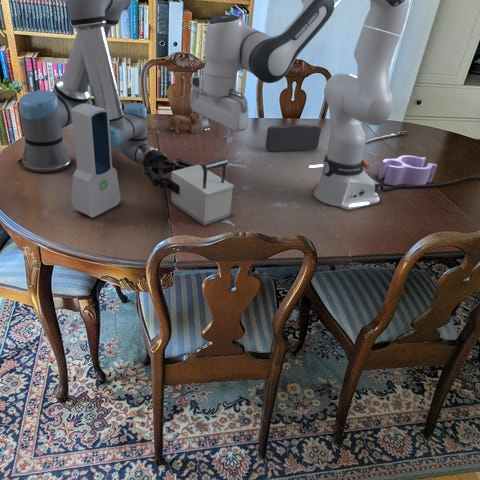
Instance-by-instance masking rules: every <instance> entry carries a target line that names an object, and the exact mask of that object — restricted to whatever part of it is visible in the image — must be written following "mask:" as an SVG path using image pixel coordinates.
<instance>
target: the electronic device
mask: <svg viewBox="0 0 480 480" xmlns="http://www.w3.org/2000/svg"><path fill="white" fill-rule="evenodd" d="M71 115H72V124H71V125H72V132H73V143H74V151H75V160H76V169H75V171H74V173H73V174H72V185H71V188H72V189H71V201H70V202H71V204H72V207H73V209H74V210H75V211H77V212H79V213H81V214H84V215H86V216H88V217H90V218H95V217H97V216H99V215H101V214H103V213H105V212H107V211H109V210H112V208H115V207H117V206H118V205H119V204H120V202H121V201H122V200H121V192H120V186H119V179H118V178H119V177H118V170H117V169H116V168H114V166H113V160H112V158H113V157H112V149H111V142H110V125H109V111H108V110H105V109H102V108H99V107H96V105H93V104H92V105H90V104H80V105H77V106H75V107H74V108H73V109H72V110H71Z"/></svg>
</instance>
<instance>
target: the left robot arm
mask: <svg viewBox="0 0 480 480" xmlns="http://www.w3.org/2000/svg"><path fill="white" fill-rule="evenodd" d="M133 3H134V0H66V6H67V13H68V17H69V21H70V25H71V28H73V29H74V30H76V35H75V38H74V41H73V43H72V47H71V50H70V53H69V57H68V59H67V62H66V65H65V69H64V71H63V74H62V76H60V77H58V78H56V80H55V82H54V86H53V88H52V91H51V90H48V89H47V90H46V89H39V90H35V91H34V90H33V91H29V92H27V93H25V94H23V95H22V96H21V97H20V99H19V102H18V105H19V110H18V111H19V115H20V120H21V126H22V132H23V137H24V148H23V153H22V157H20V159H18V161H17V163H18V164H20V163H22V166H23V168H24V169H25V170H27V171H29V172H33V173H39V174H46V173H56V172H61V171H63V170H66V169H67V168H69V167H70V166H71V163H72V159H71V155H70V153H69V151H68V150H67V149H68V148H67V147H66V144H65V143H64V140H63V132H62V129H63V128H66V127H67V126H70V125H73V124H72V115H71V110H72V109H73V108H74V107H75V106H77V105H80V104H90V105H93V102H92V100H91V98H92V97H91V93H92V96H93V99H94V100H93V101H94V104H95V106H96V107H99V108H102V109H105V110H108V111H109V125H110V142H111V150H113V149H115V148H118V147H119V149H120V151H121V153H122V154H123V155H124V156H125V157H126V158H127V159H129V160H131V161H133V162H135V163H136V164H138V165H139V166H140V167H142V168H143V174H144V175H145V176H146V177H147V178H148V179H149V180H150V182H151V184H152V185H153V186H154V187H159V188H160V189H164V188H166V189H168V190H170V191H171V190H172V191H173V192H175V193H176V194H179V185H178V184H176V183H175V182H173V181H172V179H170V178H169V177H166V176H164V175H166V174H168V173H170V174H172V171H176V170H179V169H183V168H187V167H191V166H194V165H195V164H194V163H190V162H187V161H185V160H183V159H180V158H176V159H175V161H173V160H171V159H169V158H168V157H167V155H166V154H165V153H163V152H162V151H160V150H158V149H157V148H155V147H154V146H152V145H150V144H148V118H149V117H148V109H147V107H146V105H144V104H142V103H139V102H130V103H126V104H125V105H124V106H122V101H121V97H120V93H119V89H118V83H117V80H116V75H115V71H114V66H113V65H114V64H112V63H113V61H111V60H112V59H111V58H112V56H111V54H110V52H111V51H110V48H109V45H108V43H109V42H108V39H107V38H108V36H109V34H110V30H111V28H112V27H115V26H117V25H118V24H119V22H120V19H121V16H122V14H123V11H127V10H128V9H129V8H130V7H131V6H132V5H133ZM110 56H111V57H110ZM89 86H90V89H91V90H90V89H89ZM157 175H158V176H157Z"/></svg>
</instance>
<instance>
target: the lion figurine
mask: <svg viewBox="0 0 480 480" xmlns="http://www.w3.org/2000/svg"><path fill="white" fill-rule="evenodd" d="M199 122H201V120H200V114H198V113H196V112H194V111H192V112H191V113H189V114H188V115H186V116H181V115H179V114H178V115H177V114H176V115H173V116H172V117H171V118H170V121H169V125H168V128H166V131H169V130H170V131H173V130H175V132H176V133H177V134H179V133H180V130H178V127H179V124H180V125H182V126H188V127H187V128H188V131H190V133H191V134H194V133H195V131H194V130H193V129H194V126H196V125H198V123H199ZM173 126H174V128H173Z"/></svg>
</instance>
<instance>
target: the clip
mask: <svg viewBox="0 0 480 480" xmlns="http://www.w3.org/2000/svg"><path fill="white" fill-rule="evenodd" d="M426 159H427V158H426V157H425V156H421V157H420V156H416V155H408V154H407V155H400V156H398V157H397V158H385V159H382V163H381V167H380V170H379V173H378V176H377V177H378V178H377V179H378V180H383V178H384V180H383V184H384V185H389V186H397V185H427V183H430V184H432V180H433V177H434V175H435V172H436V169H437V166H438V165H437V164H436V163H432V162H428V163H427V164H426V166H424V165H425V162H426Z"/></svg>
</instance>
